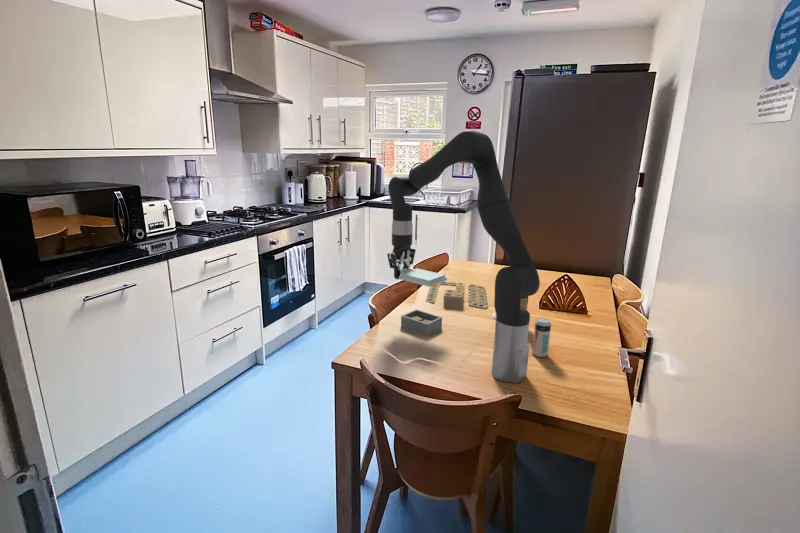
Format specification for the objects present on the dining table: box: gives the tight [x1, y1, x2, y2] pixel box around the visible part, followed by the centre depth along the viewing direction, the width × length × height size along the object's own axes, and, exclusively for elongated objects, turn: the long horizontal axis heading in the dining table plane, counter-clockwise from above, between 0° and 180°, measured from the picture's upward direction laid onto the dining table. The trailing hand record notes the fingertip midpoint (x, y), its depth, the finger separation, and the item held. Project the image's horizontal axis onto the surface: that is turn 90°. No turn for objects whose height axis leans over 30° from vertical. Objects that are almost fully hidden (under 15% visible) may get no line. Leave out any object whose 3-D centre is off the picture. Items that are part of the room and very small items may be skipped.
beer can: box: [531, 317, 552, 358], centre depth 134 cm, size 5×5×12 cm
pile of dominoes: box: [425, 281, 489, 310], centre depth 192 cm, size 35×27×6 cm
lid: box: [398, 266, 448, 288], centre depth 150 cm, size 18×11×2 cm, turn 50°
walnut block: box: [411, 316, 423, 322], centre depth 155 cm, size 4×4×3 cm
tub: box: [400, 308, 443, 337], centre depth 153 cm, size 12×9×5 cm
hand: (401, 277), depth 155 cm, fingers closed on lid, 4 cm apart
